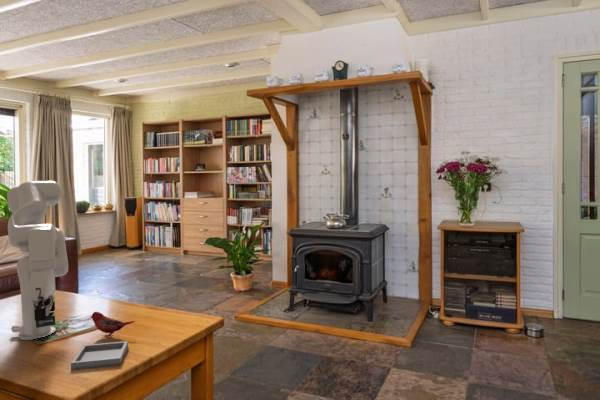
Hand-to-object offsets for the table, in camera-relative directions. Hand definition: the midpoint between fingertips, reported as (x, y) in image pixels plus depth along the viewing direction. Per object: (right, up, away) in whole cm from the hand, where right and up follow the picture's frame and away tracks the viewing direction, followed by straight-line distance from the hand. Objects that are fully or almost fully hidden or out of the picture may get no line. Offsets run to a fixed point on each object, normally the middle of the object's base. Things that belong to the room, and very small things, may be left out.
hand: (45, 315), depth 146 cm
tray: (+17, -16, +3) cm, 24 cm away
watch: (0, -3, 0) cm, 3 cm away
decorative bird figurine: (+13, -15, +23) cm, 30 cm away
